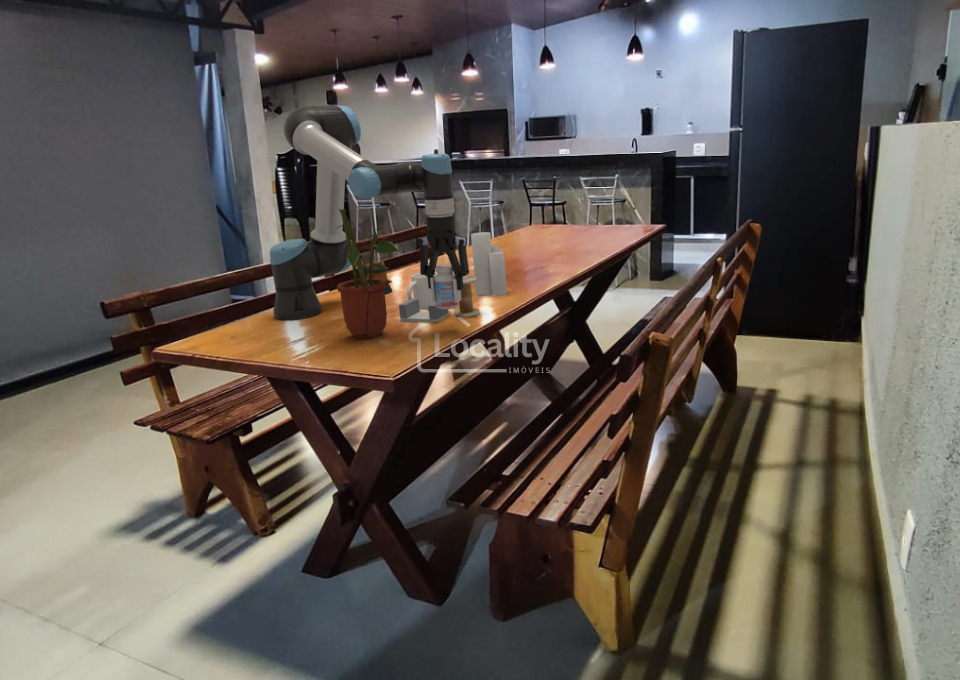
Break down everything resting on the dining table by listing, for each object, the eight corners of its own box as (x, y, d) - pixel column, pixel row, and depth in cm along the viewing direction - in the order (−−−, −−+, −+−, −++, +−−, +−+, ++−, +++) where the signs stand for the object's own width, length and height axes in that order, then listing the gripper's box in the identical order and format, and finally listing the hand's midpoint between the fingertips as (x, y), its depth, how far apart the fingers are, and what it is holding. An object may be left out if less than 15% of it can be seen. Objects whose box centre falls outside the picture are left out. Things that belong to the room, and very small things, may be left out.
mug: (418, 313, 206) (414, 280, 203) (400, 310, 211) (396, 278, 208) (445, 304, 214) (442, 273, 211) (427, 302, 220) (424, 271, 217)
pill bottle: (443, 311, 179) (440, 270, 176) (432, 307, 184) (428, 266, 181) (463, 306, 182) (460, 266, 179) (451, 302, 187) (448, 263, 184)
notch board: (400, 321, 199) (398, 304, 197) (413, 314, 206) (412, 298, 204) (436, 322, 194) (434, 306, 192) (448, 315, 201) (447, 299, 199)
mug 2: (398, 290, 241) (395, 258, 238) (381, 296, 233) (377, 264, 230) (370, 288, 248) (366, 257, 244) (352, 295, 239) (348, 263, 236)
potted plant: (346, 345, 179) (328, 212, 168) (341, 331, 193) (324, 208, 183) (411, 335, 183) (396, 205, 173) (401, 322, 197) (387, 201, 187)
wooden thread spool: (449, 317, 199) (446, 280, 195) (460, 310, 205) (457, 275, 202) (473, 318, 196) (470, 281, 192) (483, 311, 202) (480, 275, 199)
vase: (472, 295, 224) (467, 235, 219) (481, 290, 231) (476, 232, 225) (503, 296, 220) (499, 235, 214) (511, 291, 226) (507, 231, 220)
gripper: (401, 217, 176) (409, 302, 183) (467, 217, 168) (473, 306, 175) (415, 213, 182) (422, 295, 189) (479, 213, 175) (484, 299, 182)
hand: (446, 300), depth 182 cm, fingers closed on pill bottle, 6 cm apart
